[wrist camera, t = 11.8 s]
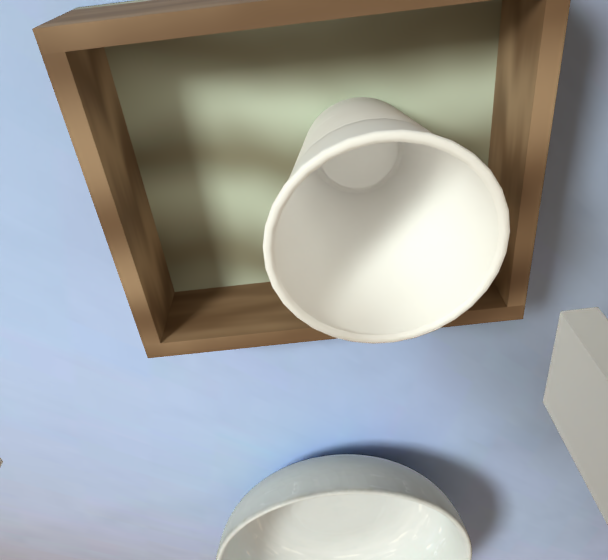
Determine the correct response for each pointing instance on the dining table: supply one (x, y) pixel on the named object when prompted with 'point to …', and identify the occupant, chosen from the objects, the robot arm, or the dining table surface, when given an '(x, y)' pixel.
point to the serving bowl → (345, 515)
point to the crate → (282, 134)
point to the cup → (383, 227)
